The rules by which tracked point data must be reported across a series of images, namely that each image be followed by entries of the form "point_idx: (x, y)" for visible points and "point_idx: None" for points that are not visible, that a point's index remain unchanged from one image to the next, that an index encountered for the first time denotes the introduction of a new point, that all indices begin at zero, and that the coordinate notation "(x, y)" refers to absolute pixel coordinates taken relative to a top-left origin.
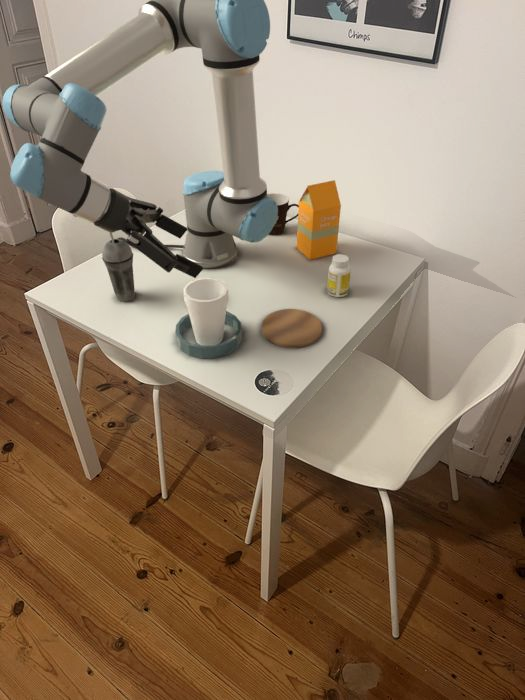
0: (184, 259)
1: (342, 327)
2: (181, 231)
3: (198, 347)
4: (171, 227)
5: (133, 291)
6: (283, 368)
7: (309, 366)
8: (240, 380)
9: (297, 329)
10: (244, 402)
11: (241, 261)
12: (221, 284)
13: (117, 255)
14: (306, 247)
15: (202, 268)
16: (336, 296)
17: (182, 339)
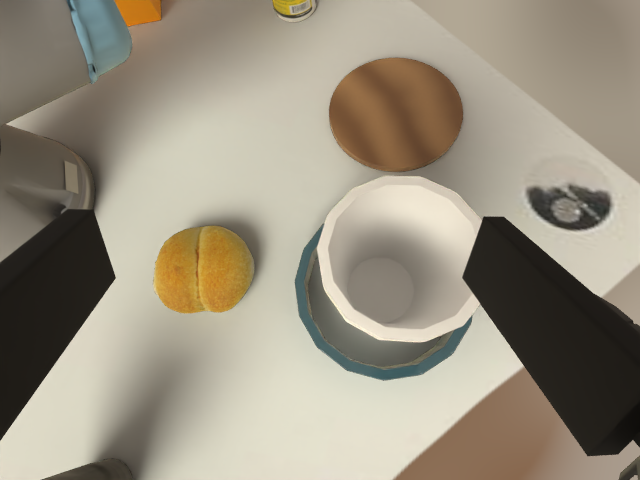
0: (618, 316)
1: (413, 31)
2: (88, 252)
3: (466, 330)
4: (40, 318)
5: (111, 469)
6: (525, 163)
7: (526, 116)
8: (554, 257)
9: (409, 102)
10: (632, 267)
11: (94, 146)
12: (376, 191)
13: None
14: (130, 2)
15: (507, 220)
16: (313, 11)
17: (422, 366)
